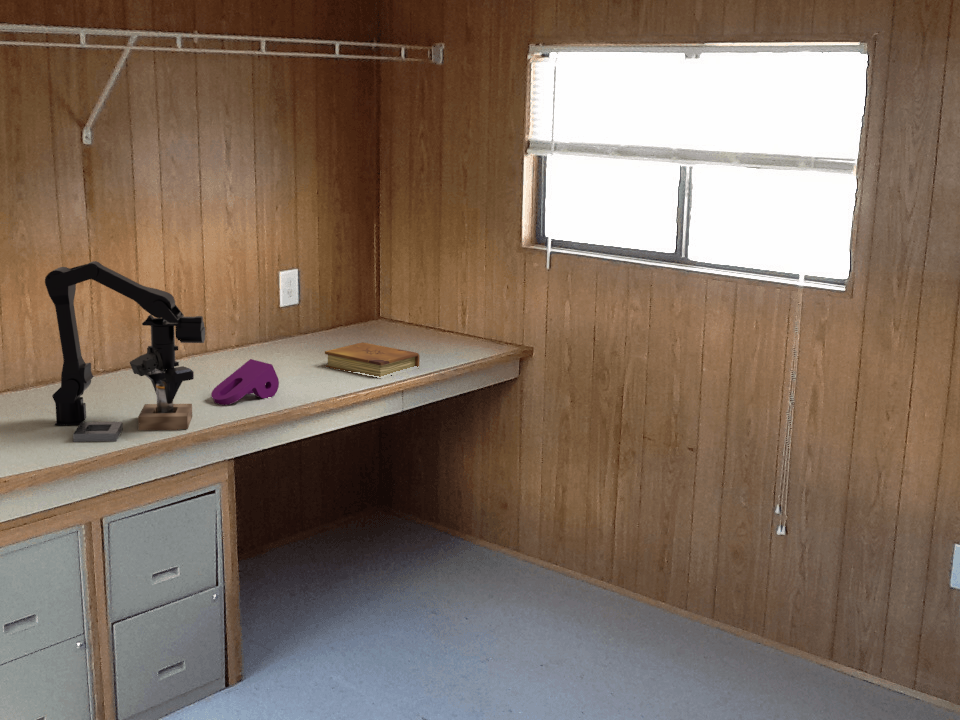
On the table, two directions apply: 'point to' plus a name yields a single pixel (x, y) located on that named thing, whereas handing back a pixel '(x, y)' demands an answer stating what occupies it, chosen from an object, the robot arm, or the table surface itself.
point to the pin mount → (97, 431)
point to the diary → (371, 359)
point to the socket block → (165, 418)
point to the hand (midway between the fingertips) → (165, 401)
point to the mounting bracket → (247, 383)
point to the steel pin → (162, 399)
